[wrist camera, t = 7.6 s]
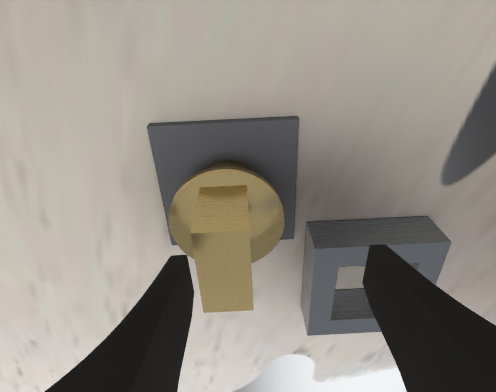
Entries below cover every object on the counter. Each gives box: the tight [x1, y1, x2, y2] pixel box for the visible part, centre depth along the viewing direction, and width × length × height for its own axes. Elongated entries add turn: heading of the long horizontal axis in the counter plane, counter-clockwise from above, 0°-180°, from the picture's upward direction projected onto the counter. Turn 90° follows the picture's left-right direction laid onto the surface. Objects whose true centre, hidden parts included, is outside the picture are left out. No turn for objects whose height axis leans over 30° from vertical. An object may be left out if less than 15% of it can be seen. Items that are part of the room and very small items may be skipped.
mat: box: [147, 116, 299, 245], centre depth 21 cm, size 9×9×1 cm
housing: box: [301, 216, 451, 336], centre depth 24 cm, size 9×9×3 cm
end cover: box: [168, 160, 285, 313], centre depth 18 cm, size 7×7×8 cm
